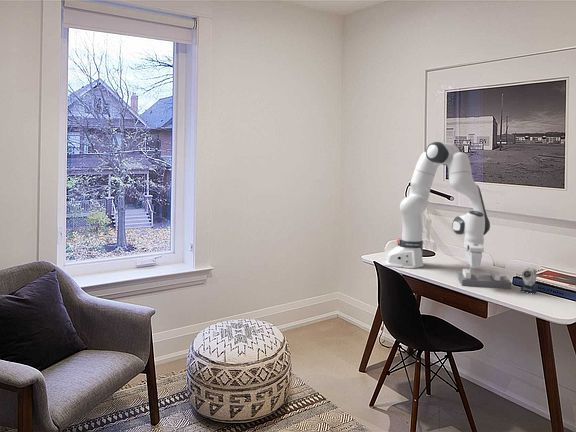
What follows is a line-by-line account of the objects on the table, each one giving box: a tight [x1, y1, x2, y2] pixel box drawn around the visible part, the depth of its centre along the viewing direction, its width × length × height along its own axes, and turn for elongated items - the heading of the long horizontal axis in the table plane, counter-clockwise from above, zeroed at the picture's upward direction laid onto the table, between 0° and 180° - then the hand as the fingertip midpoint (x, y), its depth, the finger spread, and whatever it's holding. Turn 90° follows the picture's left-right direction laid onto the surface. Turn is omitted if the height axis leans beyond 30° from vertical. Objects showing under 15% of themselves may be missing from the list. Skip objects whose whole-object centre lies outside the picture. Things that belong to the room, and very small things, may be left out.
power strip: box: [457, 272, 513, 290], centre depth 238 cm, size 22×12×3 cm, turn 79°
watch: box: [520, 267, 539, 295], centre depth 225 cm, size 6×8×11 cm
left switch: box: [461, 268, 472, 279], centre depth 239 cm, size 2×9×3 cm, turn 169°
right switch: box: [490, 270, 501, 281], centre depth 236 cm, size 2×9×3 cm, turn 169°
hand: (471, 272), depth 238 cm, fingers closed
